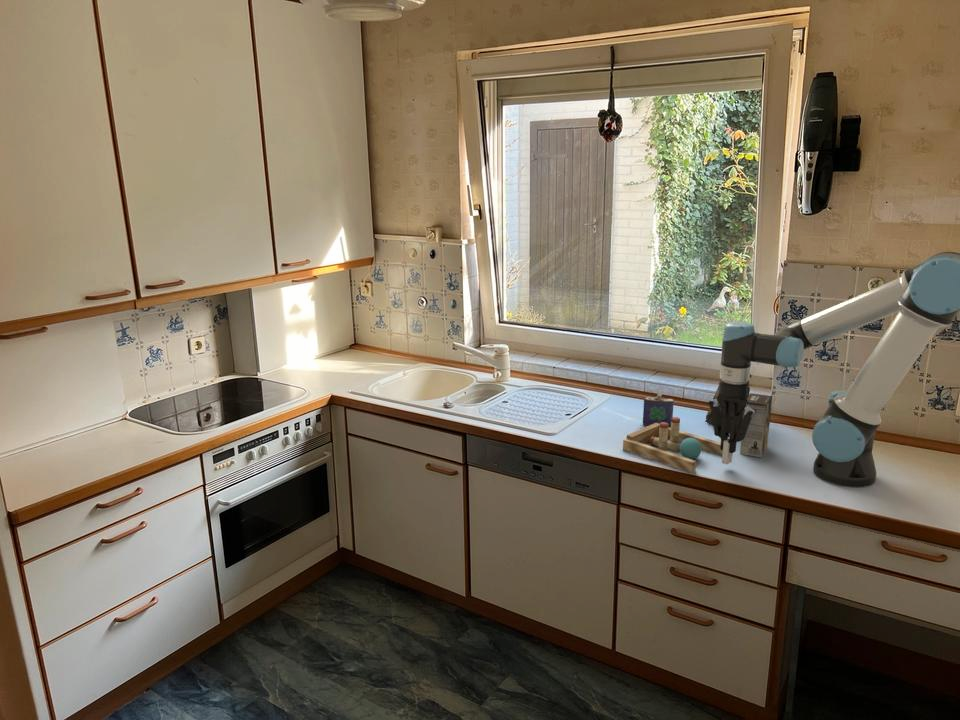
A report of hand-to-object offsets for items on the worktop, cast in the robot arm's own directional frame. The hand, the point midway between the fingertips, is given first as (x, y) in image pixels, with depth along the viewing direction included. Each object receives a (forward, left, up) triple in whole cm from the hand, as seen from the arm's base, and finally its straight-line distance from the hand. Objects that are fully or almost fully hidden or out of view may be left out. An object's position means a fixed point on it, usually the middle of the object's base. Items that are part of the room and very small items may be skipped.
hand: (726, 462), depth 200 cm
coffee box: (+1, -17, -2) cm, 18 cm away
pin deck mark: (+16, 0, -2) cm, 17 cm away
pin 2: (+18, -3, -2) cm, 19 cm away
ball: (+11, +1, +1) cm, 11 cm away
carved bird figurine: (+17, -30, -2) cm, 35 cm away
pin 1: (+18, +3, -2) cm, 19 cm away
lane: (+16, 0, -2) cm, 16 cm away
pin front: (+15, -1, -1) cm, 15 cm away
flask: (+32, -14, -2) cm, 35 cm away
